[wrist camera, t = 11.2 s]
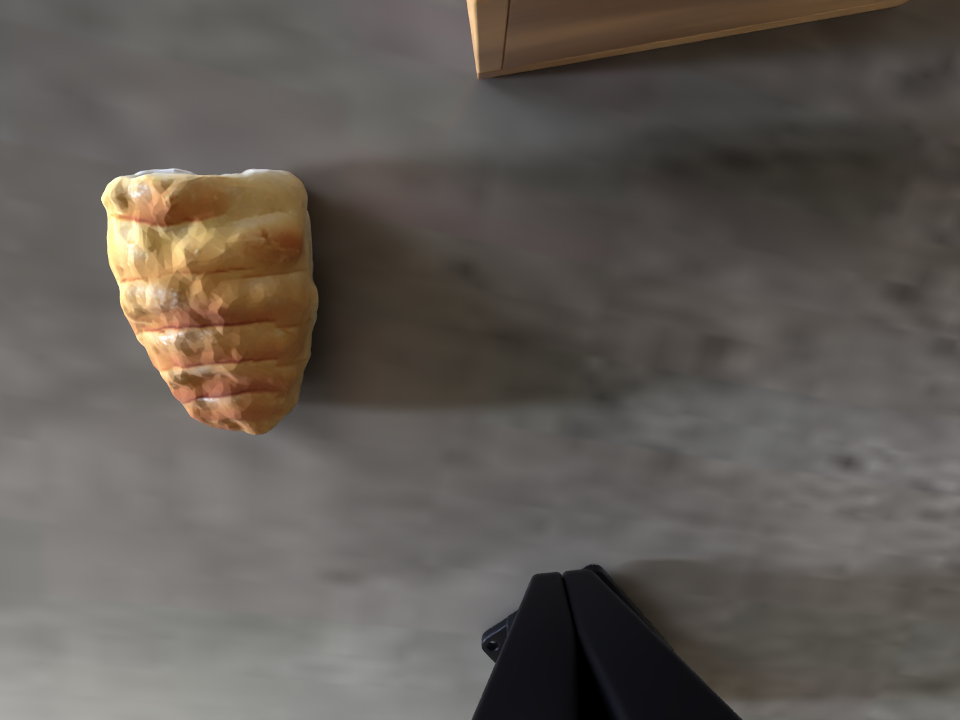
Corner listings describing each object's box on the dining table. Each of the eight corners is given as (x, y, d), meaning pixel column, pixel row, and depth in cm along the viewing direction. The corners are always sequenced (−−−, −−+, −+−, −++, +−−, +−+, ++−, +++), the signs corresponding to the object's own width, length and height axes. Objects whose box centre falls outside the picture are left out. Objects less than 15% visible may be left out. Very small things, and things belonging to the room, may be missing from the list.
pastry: (346, 413, 21) (315, 458, 17) (180, 420, 21) (114, 465, 17) (312, 162, 18) (268, 150, 14) (123, 173, 18) (32, 164, 15)
